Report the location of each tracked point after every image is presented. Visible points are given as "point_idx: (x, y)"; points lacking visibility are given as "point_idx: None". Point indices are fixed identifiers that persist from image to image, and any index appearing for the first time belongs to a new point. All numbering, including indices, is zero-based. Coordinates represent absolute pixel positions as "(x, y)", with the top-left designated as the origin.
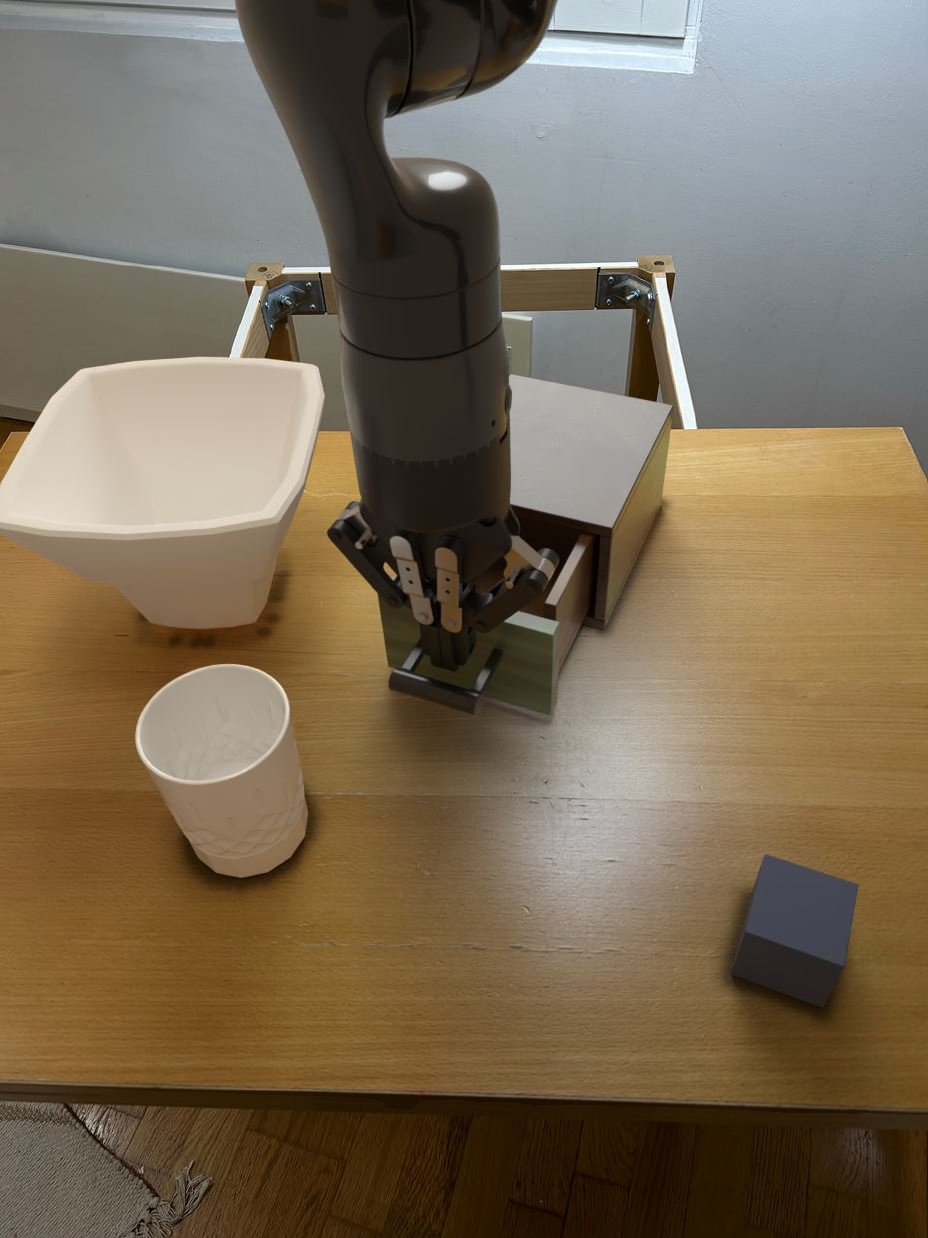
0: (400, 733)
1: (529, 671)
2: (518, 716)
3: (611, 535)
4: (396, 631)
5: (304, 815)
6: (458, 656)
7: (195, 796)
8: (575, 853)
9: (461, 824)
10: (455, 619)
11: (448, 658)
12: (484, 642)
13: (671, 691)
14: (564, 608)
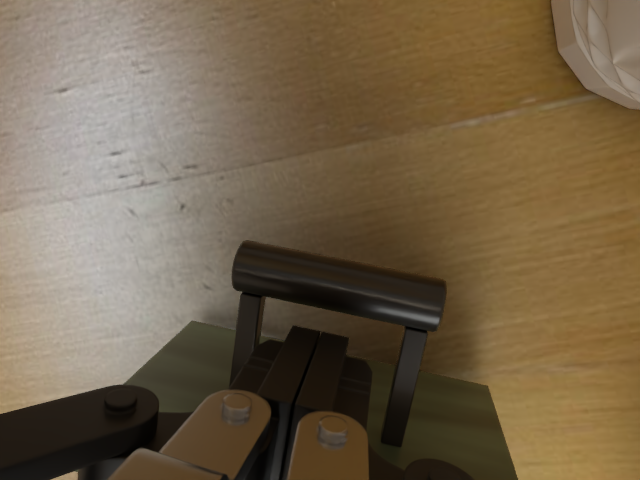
0: (433, 258)
1: (188, 373)
2: None
3: None
4: (474, 442)
5: (562, 18)
6: (274, 354)
7: None
8: (111, 90)
9: (286, 100)
10: (208, 421)
11: (294, 344)
12: None
13: (57, 394)
14: None
